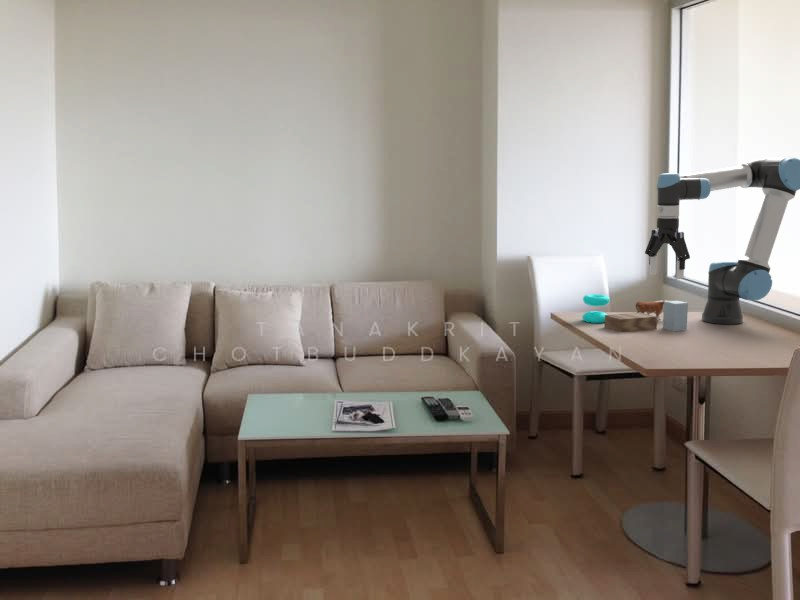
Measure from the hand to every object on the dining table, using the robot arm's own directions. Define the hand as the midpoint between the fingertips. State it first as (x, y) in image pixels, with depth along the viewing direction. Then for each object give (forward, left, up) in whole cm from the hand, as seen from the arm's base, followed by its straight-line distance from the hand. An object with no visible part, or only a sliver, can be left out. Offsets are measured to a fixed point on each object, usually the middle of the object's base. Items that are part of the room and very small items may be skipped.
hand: (666, 276), depth 345 cm
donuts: (+9, -29, -21) cm, 36 cm away
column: (-8, -4, -20) cm, 22 cm away
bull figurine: (-13, -22, -21) cm, 33 cm away
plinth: (+6, -12, -21) cm, 24 cm away
